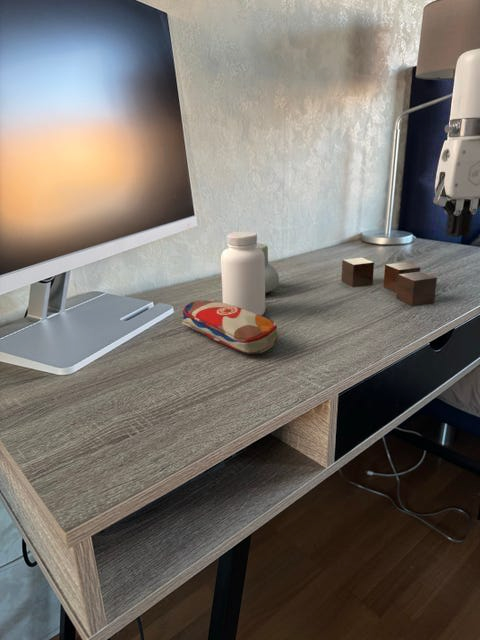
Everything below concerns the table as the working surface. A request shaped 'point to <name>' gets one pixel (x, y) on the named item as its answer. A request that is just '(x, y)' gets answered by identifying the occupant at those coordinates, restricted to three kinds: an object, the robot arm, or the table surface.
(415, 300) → the block
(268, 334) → the pencil case
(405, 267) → the block middle
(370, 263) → the block
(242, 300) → the pill bottle
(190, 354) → the table surface
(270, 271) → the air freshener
